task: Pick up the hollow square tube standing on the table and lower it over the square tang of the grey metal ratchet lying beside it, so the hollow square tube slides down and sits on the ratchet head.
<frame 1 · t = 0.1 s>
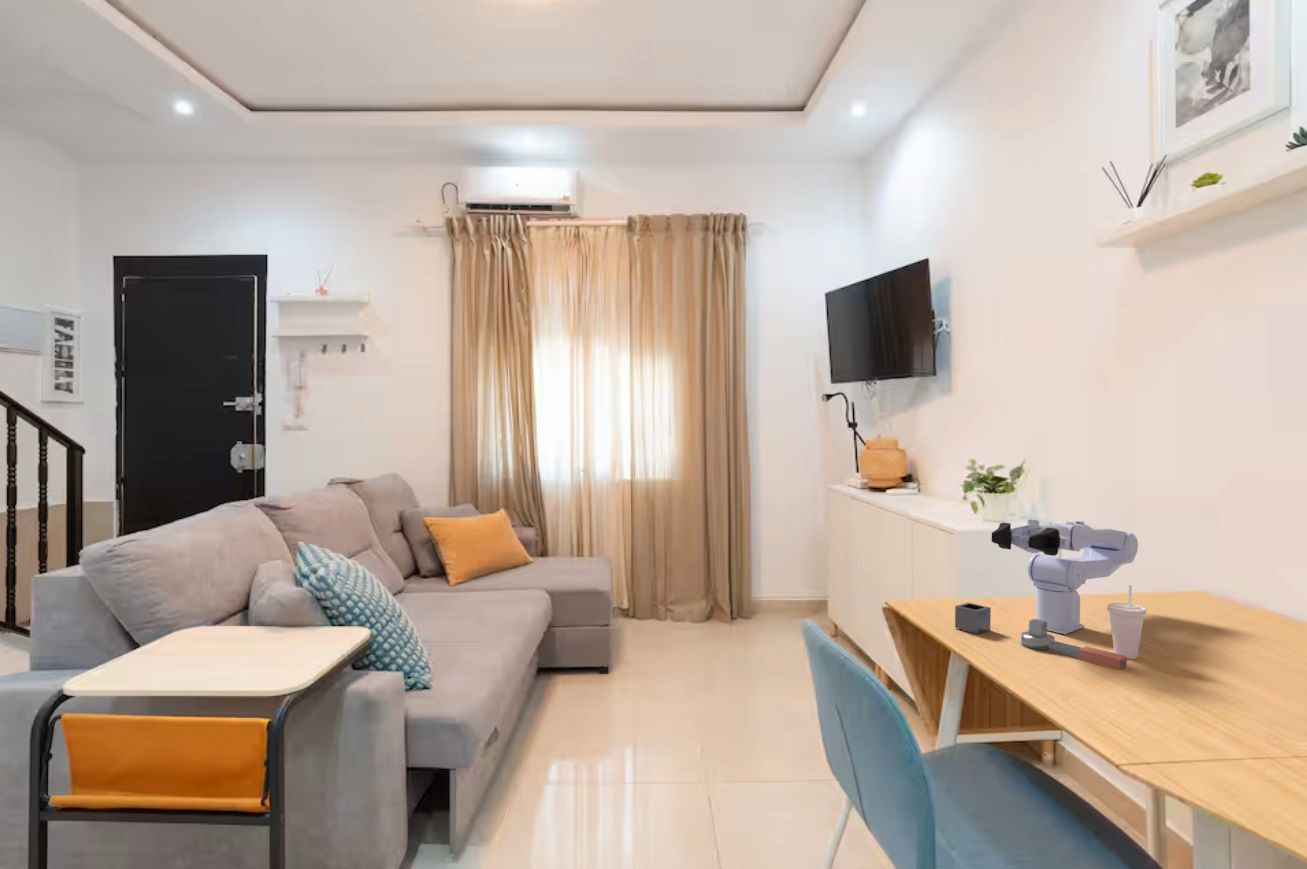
hand: (1011, 539, 146), 22 cm above the table, tool horizontal, fingers open, 7 cm apart
smoothie: (1125, 656, 139), on the table
ratchet: (1037, 646, 145), on the table
hollow square tube: (972, 629, 156), on the table
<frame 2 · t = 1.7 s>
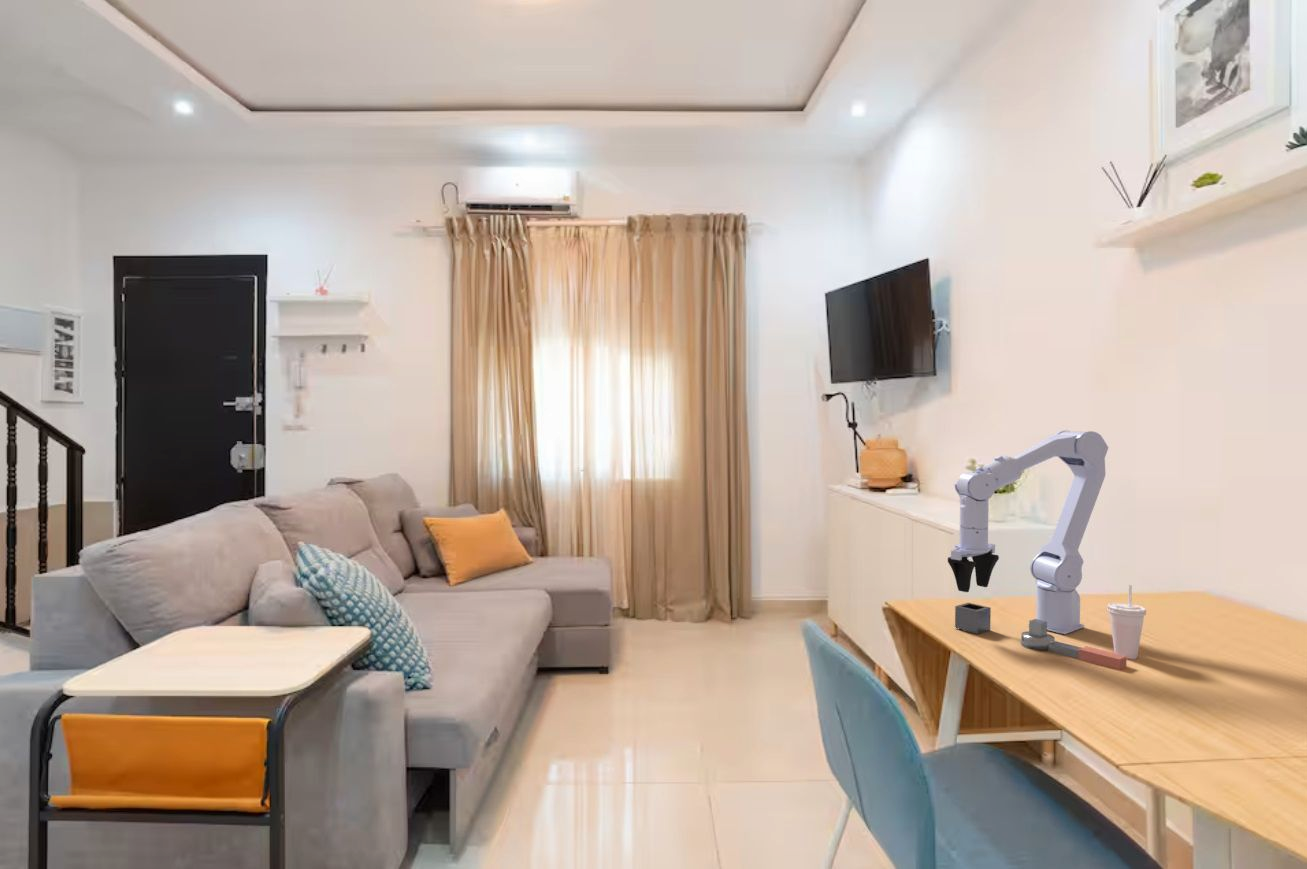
hand: (973, 588, 156), 9 cm above the table, tool pointing down, fingers open, 7 cm apart
nothing on the table moved.
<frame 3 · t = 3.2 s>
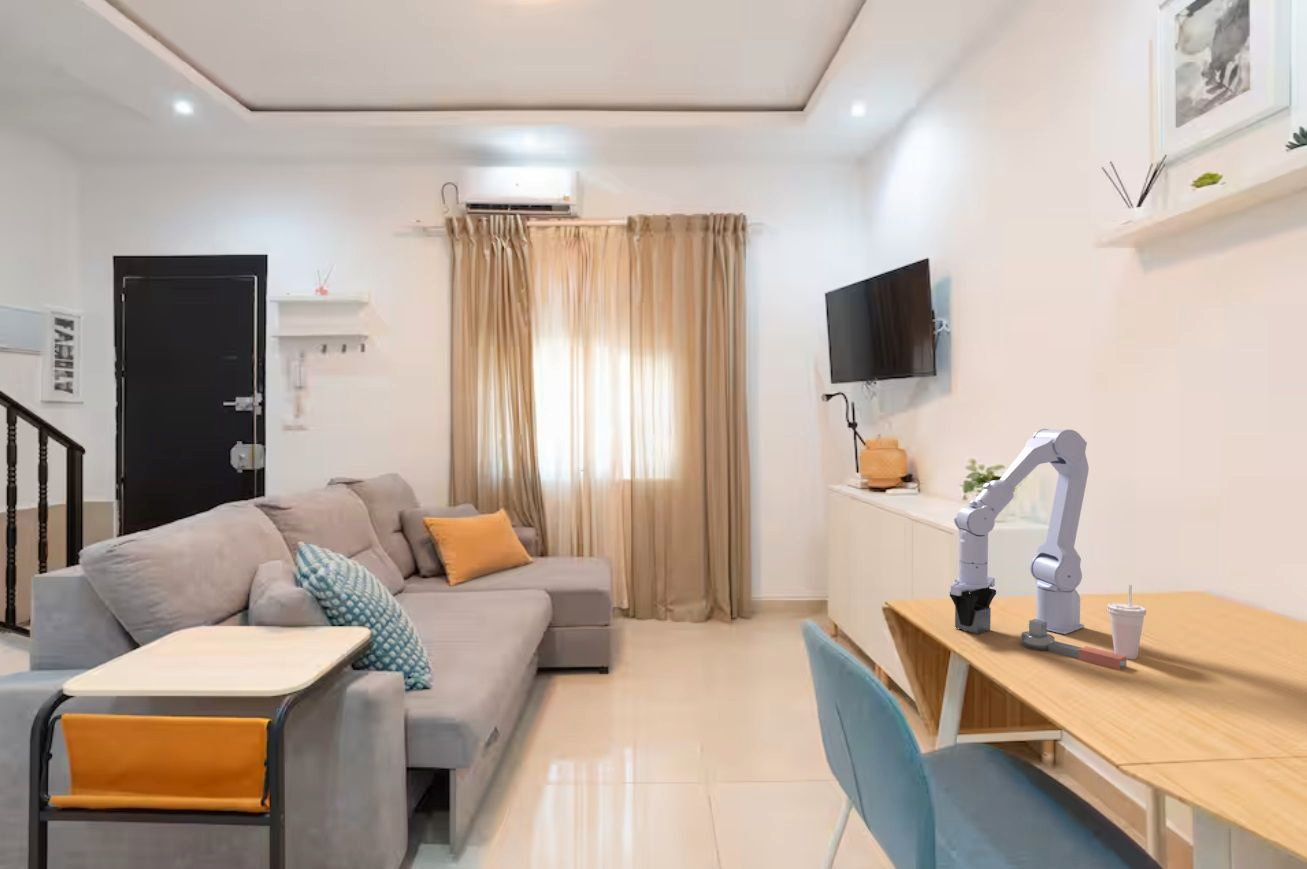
hand: (972, 623, 156), 1 cm above the table, tool pointing down, fingers closed on hollow square tube, 5 cm apart
hollow square tube: (972, 629, 156), on the table, touching gripper
everything else where it was.
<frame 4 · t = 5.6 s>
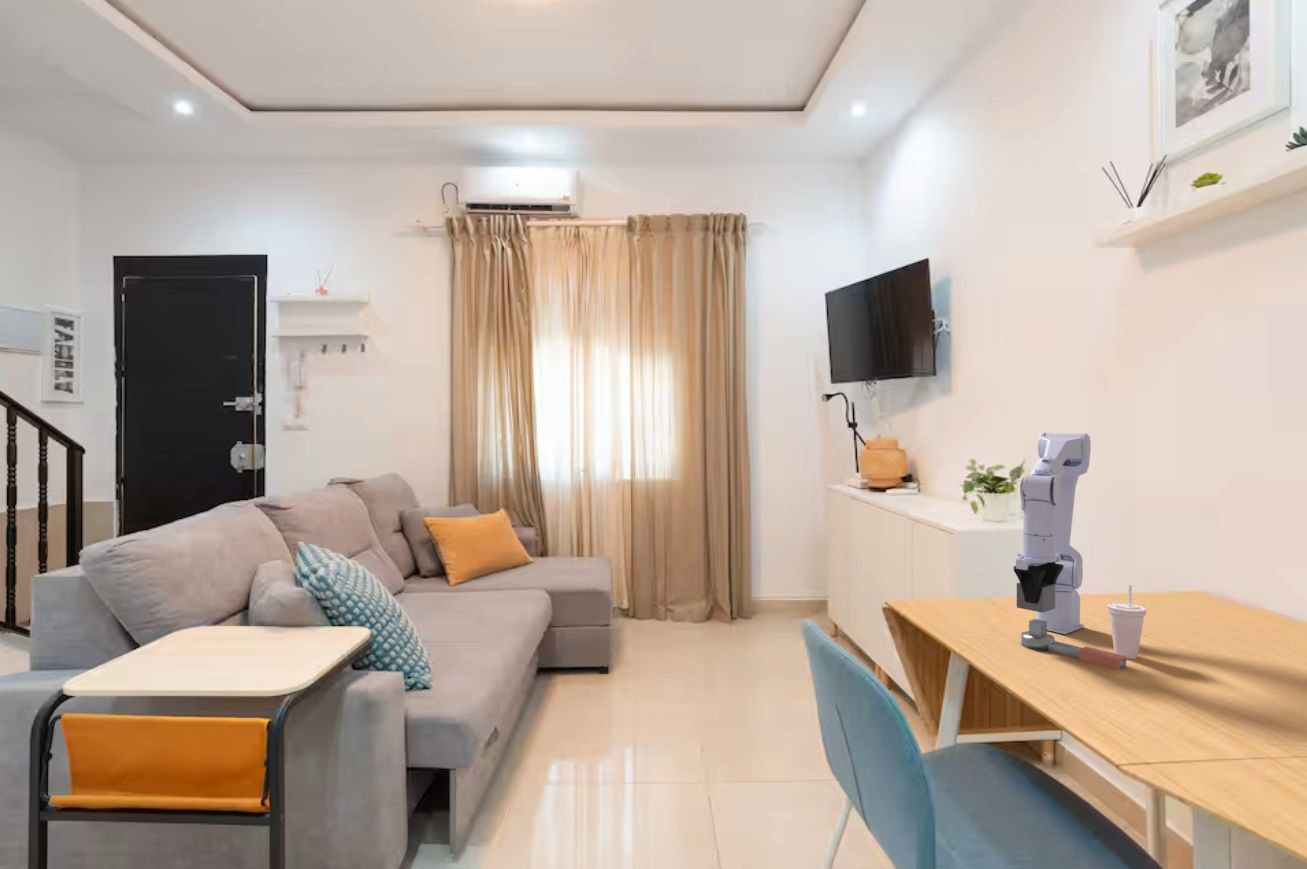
hand: (1038, 600, 145), 9 cm above the table, tool pointing down, fingers closed on hollow square tube, 5 cm apart
hollow square tube: (1035, 608, 145), point 8 cm above the table, touching gripper
everything else where it was.
when the fingers open (4 cm above the table, at t = 8.1 s): hollow square tube stays where it is, resting on ratchet.
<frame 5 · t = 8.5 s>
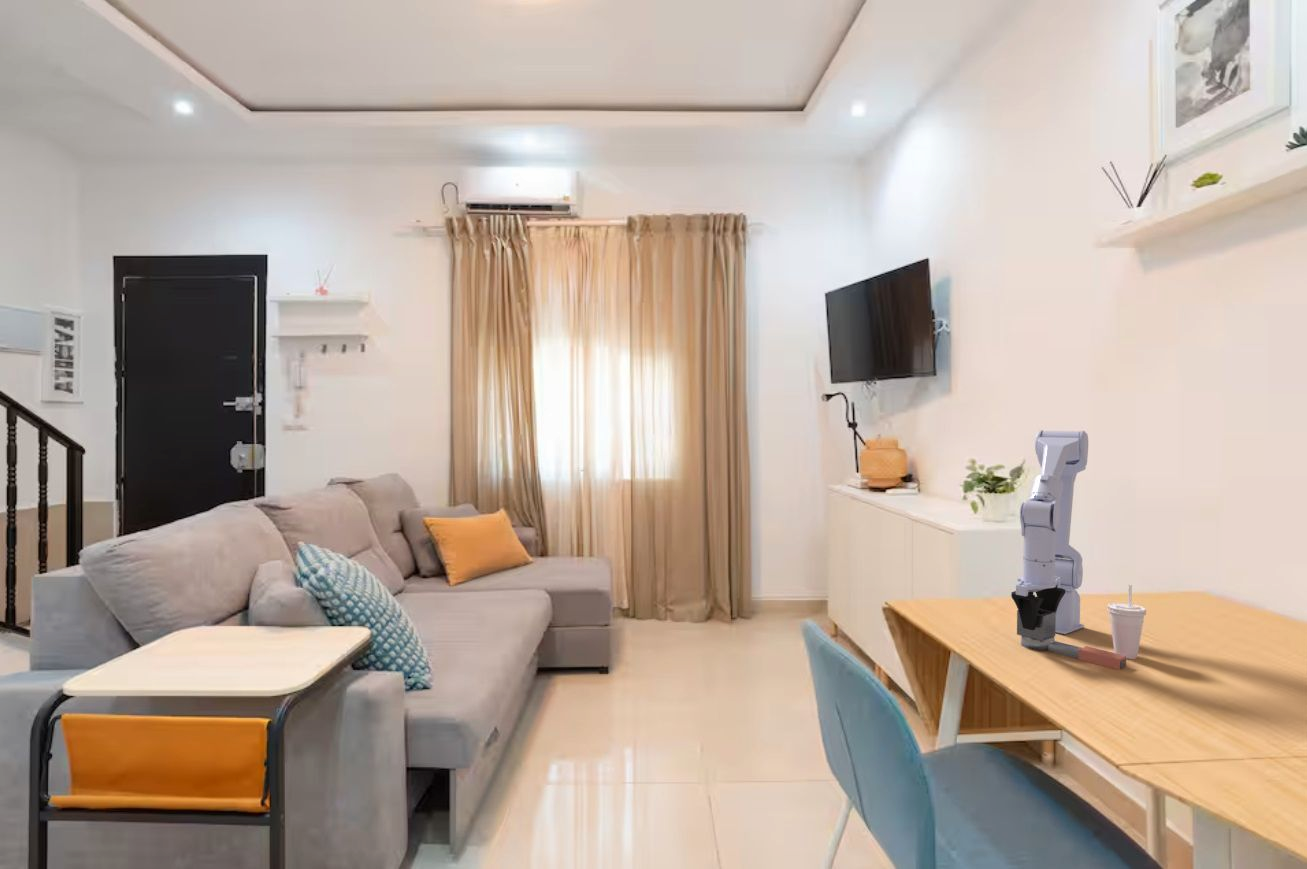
hand: (1038, 625, 145), 4 cm above the table, tool pointing down, fingers open, 7 cm apart
ratchet: (1037, 646, 145), on the table, touching hollow square tube
hollow square tube: (1036, 635, 145), point 2 cm above the table, touching ratchet
everything else where it was.
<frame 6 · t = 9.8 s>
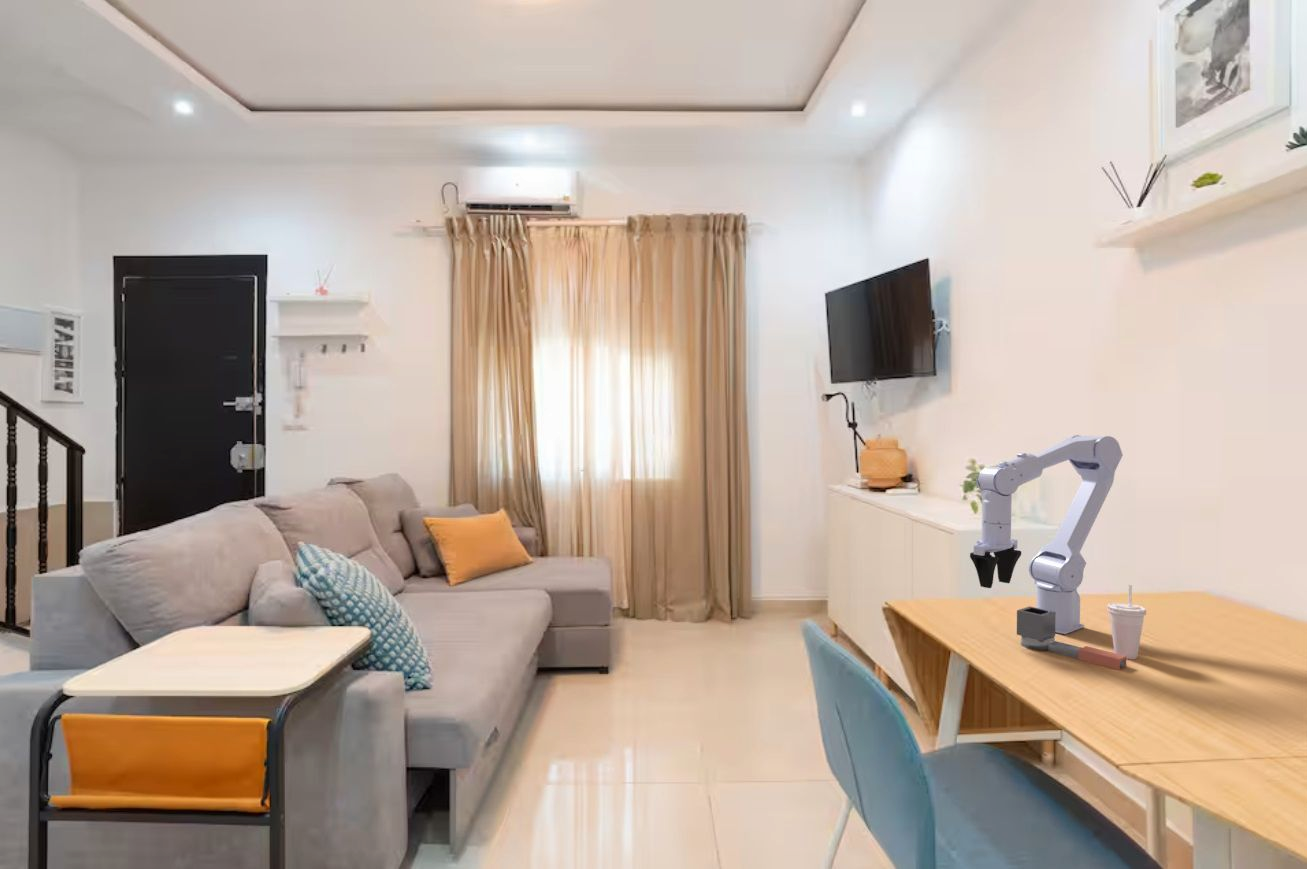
hand: (995, 584, 154), 10 cm above the table, tool pointing down, fingers open, 7 cm apart
nothing on the table moved.
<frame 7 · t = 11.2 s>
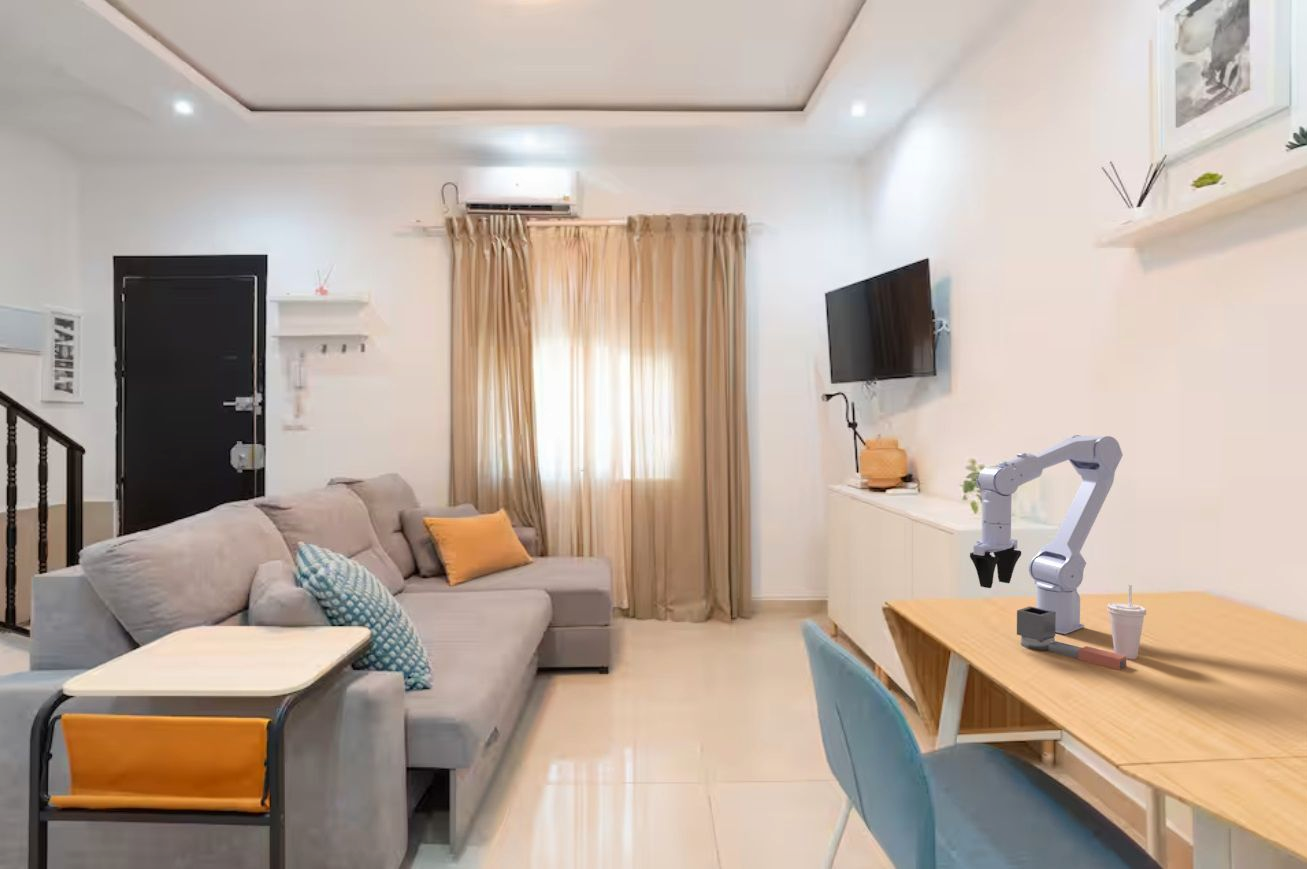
hand: (995, 584, 154), 10 cm above the table, tool pointing down, fingers open, 7 cm apart
nothing on the table moved.
at the end: hollow square tube 0.3 cm from the ratchet (horizontally); hollow square tube point 2.1 cm above the table; hollow square tube tilted 0° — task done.
